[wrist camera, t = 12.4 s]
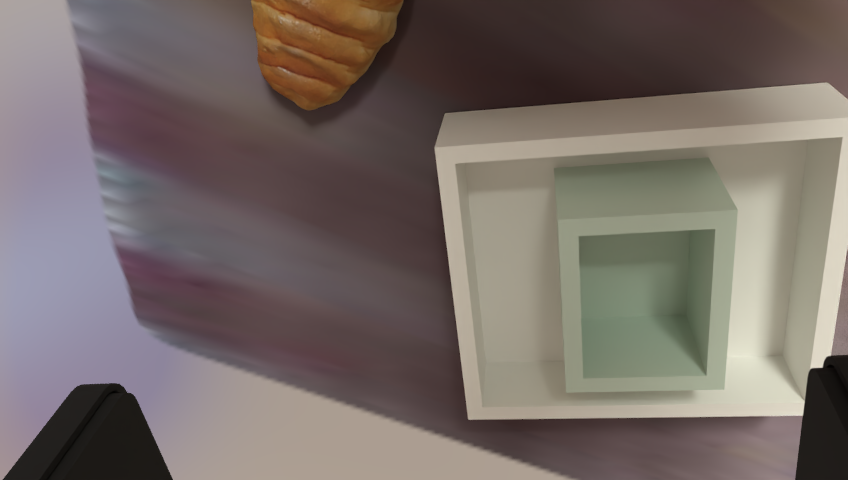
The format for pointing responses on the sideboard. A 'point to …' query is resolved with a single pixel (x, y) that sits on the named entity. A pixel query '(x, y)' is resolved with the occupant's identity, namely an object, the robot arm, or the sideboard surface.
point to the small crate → (645, 275)
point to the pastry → (320, 44)
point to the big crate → (642, 142)
